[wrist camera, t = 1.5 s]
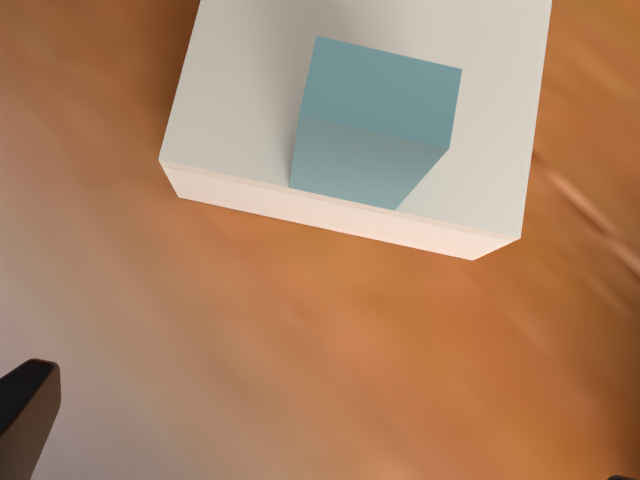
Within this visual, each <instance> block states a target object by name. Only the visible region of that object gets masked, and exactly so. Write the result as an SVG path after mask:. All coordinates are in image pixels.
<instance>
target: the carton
mask: <svg viewBox="0 0 640 480" xmlns="http://www.w3.org/2000/svg"><path fill="white" fill-rule="evenodd" d="M162 168H163V170H164V172H165V173H166V175H167V177H168V179H169V181H170V183H171V184H172V186H173V188H174V190H175V192H176V194H177V195H178V197H179V198H184V199H189V200H193V201H198V202H203V203H207V204H212V205H217V206H221V207H226V208H231V209H235V210H240V211H245V212H249V213H254V214H258V215H263V216H268V217H272V218H277V219H282V220H286V221H291V222H296V223H300V224H305V225H310V226H314V227H319V228H324V229H328V230H333V231H338V232H342V233H347V234H352V235H356V236H361V237H366V238H370V239H375V240H380V241H384V242H389V243H393V244H398V245H403V246H407V247H412V248H417V249H421V250H426V251H431V252H435V253H440V254H445V255H449V256H454V257H459V258H463V259H468V260H475V259H477V258H479V257H481V256H483V255H486V254H488V253H490V252H492V251H494V250H496V249H498V248H501V247H503V246H505V245H507V244H509V243H511V242H512V241H508V240H503V239H499V238H494V237H490V236H485V235H480V234H476V233H471V232H466V231H462V230H457V229H453V228H448V227H443V226H439V225H434V224H430V223H425V222H420V221H416V220H411V219H407V218H402V217H397V216H393V215H388V214H384V213H379V212H374V211H370V210H365V209H361V208H356V207H351V206H347V205H342V204H337V203H333V202H328V201H324V200H319V199H314V198H310V197H305V196H301V195H296V194H291V193H287V192H282V191H278V190H273V189H268V188H264V187H259V186H255V185H250V184H245V183H241V182H236V181H232V180H227V179H222V178H218V177H213V176H208V175H204V174H199V173H195V172H190V171H185V170H181V169H176V168H172V167H167V166H162Z"/></svg>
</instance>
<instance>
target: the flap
mask: <svg viewBox="0 0 640 480" xmlns="http://www.w3.org/2000/svg"><path fill="white" fill-rule="evenodd" d="M551 5H552V0H201V1H200V5H199V9H198V12H197V16H196V20H195V24H194V27H193V31H192V35H191V39H190V42H189V46H188V50H187V54H186V57H185V61H184V65H183V68H182V72H181V76H180V80H179V83H178V87H177V91H176V95H175V98H174V102H173V106H172V110H171V113H170V117H169V121H168V124H167V128H166V132H165V136H164V139H163V143H162V147H161V151H160V154H159V158H158V160H159V162H160V164H161V165H162V166H167V167H172V168H176V169H181V170H185V171H190V172H195V173H199V174H204V175H208V176H213V177H218V178H222V179H227V180H232V181H236V182H241V183H245V184H250V185H255V186H259V187H264V188H268V189H273V190H278V191H282V192H287V193H291V194H296V195H301V196H305V197H310V198H314V199H319V200H324V201H328V202H333V203H337V204H342V205H347V206H351V207H356V208H361V209H365V210H370V211H374V212H379V213H384V214H388V215H393V216H397V217H402V218H407V219H411V220H416V221H420V222H425V223H430V224H434V225H439V226H443V227H448V228H453V229H457V230H462V231H466V232H471V233H476V234H480V235H485V236H490V237H494V238H499V239H503V240H508V241H515V240H518V239H520V237H521V229H522V222H523V214H524V207H525V199H526V192H527V184H528V177H529V169H530V162H531V155H532V147H533V140H534V132H535V125H536V117H537V110H538V102H539V95H540V87H541V80H542V72H543V65H544V57H545V50H546V42H547V35H548V27H549V20H550V12H551Z"/></svg>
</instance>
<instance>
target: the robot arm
mask: <svg viewBox="0 0 640 480" xmlns="http://www.w3.org/2000/svg"><path fill="white" fill-rule="evenodd" d="M60 403H61V383H60V368H59V366H58V364H57V363H55V362H51V361H46V360H41V359H30V360H28V361H26V362H24V363H23V364H21V365H20V366H18V367H17V368H15V369H14V370H12V371H11V372H9V373H8V374H6V375H5V376H3V377H2V378H0V480H30V478H31V476H32V473H33V471H34V469H35V466H36V464H37V461H38V459H39V457H40V454H41V452H42V450H43V447H44V445H45V442H46V440H47V438H48V435H49V433H50V430H51V428H52V426H53V423H54V421H55V418H56V416H57V414H58V411H59V408H60ZM607 480H637V479H634V478H630V477H625V476H620V475H613V476H610V477H609V478H608V479H607Z"/></svg>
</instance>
